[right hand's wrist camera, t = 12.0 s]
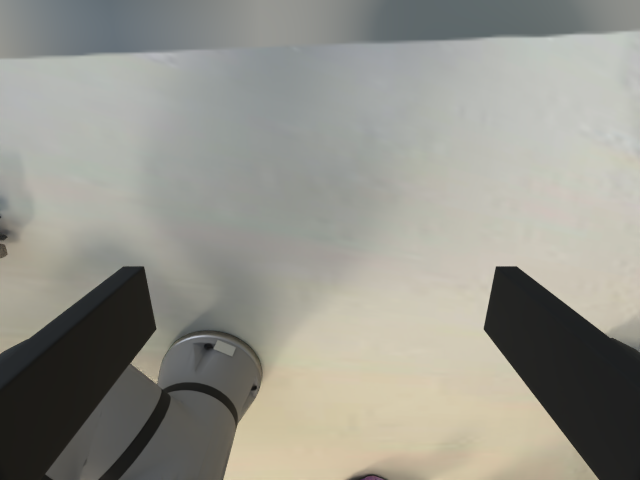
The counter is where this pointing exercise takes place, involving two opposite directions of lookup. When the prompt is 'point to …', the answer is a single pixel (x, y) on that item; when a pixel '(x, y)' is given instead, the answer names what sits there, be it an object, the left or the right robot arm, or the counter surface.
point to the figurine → (372, 478)
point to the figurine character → (2, 246)
